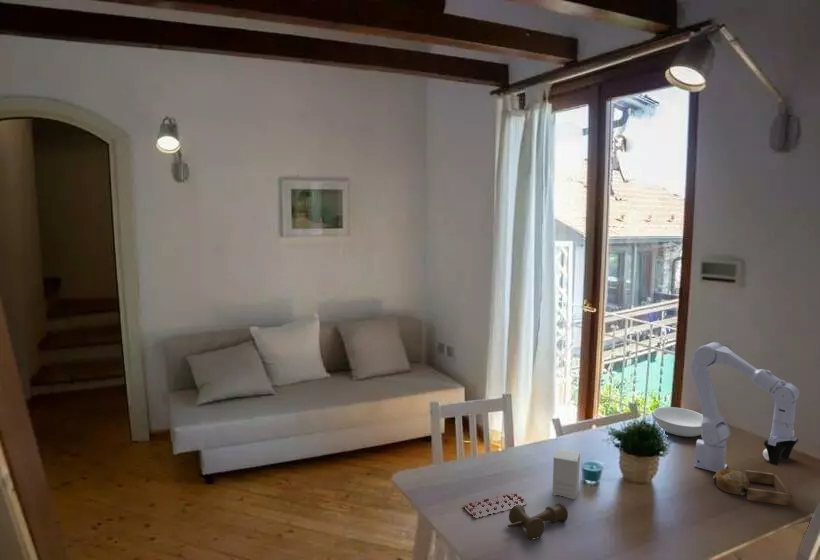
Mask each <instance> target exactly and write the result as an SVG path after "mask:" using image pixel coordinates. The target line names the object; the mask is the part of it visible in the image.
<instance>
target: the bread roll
mask: <svg viewBox="0 0 820 560" xmlns="http://www.w3.org/2000/svg"><path fill="white" fill-rule="evenodd" d="M712 479H713V480H714V484H715V486H716V487H717V488H718V489H719V490H721V491H722V490H723V492H726V493H728V494H731V493H732V495H739V496H744V495H746V494H747V490H748V488H751V483H750V482H749V480H748V478H747V477H746V476H745V474H744V472H742V471H740V470H738V469H734V468H726V469H722V470H720V471H718V472H715V474H714V475H713V476H712Z"/></svg>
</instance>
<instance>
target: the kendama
mask: <svg viewBox="0 0 820 560" xmlns="http://www.w3.org/2000/svg"><path fill="white" fill-rule="evenodd" d="M568 517H569V512H568V509H567V507H566V506H565V505H564V504H563V503H561V502H557V503H555V505H554V506H553V507H552V506H546V507H545V510H544V511H542V512H540V513H538V514H536V515H534V516H531V517H530V516H529V515H528V514H527V513H526V510H525V507H524V506H521V505H516V506H514V507H513V508H512V509H510V510H509V513H508V520H509V522H510V524H508V525H507V527H508V528H513V527H517V526H522V527H523V528H524V530H525V531H526V536H527V537H528V539H529V540H532V539H533V538H537V537H539V538H540V537H542V535H543V534H544V532H545V522H549V523H552V524H555V523H556V522H557V521H561V522H566V521H567V520H568ZM537 539H538V538H537Z"/></svg>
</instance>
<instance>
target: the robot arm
mask: <svg viewBox="0 0 820 560" xmlns="http://www.w3.org/2000/svg"><path fill="white" fill-rule="evenodd" d="M714 364H721V365H722V364H723V365H724V364H727V365H729V366H731V367H732V368H734V369H736V370H738V371H739V372H740V373H742V374H744V375H745V376H748V378H750V379H751V382H752V384H754V385H755V386H757V387H759V388H760V389H761V390H763V391H764V392H766V393H767V394H770V395H771V396H772V398H773V400H774V407H773V416H772V424H771V430H770V435H769V437H768V439H766V440H764V442H763V445H764V447H765V449H767V451H768V456H769V461H768V462H769V464H771V465H773V466H778V465H779V463H780V460H781V459H784V460H787V461H788V460H789V458H790V455H791V453H792V451H793V449H794V447H795V446H796V444H797V443H798V442H799V438H797V437H796V436H795V433H796V432H795V431H796V430H794V427H795V421H796V420H795V419H796V412H797V411H796V407H797V401H796V400H798V399H799V397H800V394H801V393H800V390H799V388H798V387H797V386H796V385H795V384H794V383H792V382H787V381H786V380H784V379H780V378H779V377H778V376H775V374H772V371H771V370H770V369H767V370H766V369H765V368H760V369H759V368H756V367H755V366H754V365H752V364H750V363H749V362H748V361H746V360H744V358H742V357H740V356H739V355H737V354H736V353H734V352H733V351H732V350H731V349H730V348H729V347H727V346H725V345H723V344H721V343H720V342H717V341H712V342H709V343H707V344H704V345H700V346H699V347H698V348H697V349H696V350H695V351H693V358H692V362H691V364H690V370H691V374H692V379H693V382H694V383H693V384H694V386H695V387H694V388H695V389H696V394H697V398H698V399H697V400H698V402H699V405H700V410H701V414H702V415H703V420H702V423H701V426H702V432H701V435H700V436H701V438H700V439H699V438H698V439H697V440H696V443H695V450H694V451H695V453H694V463H693V466H694V467H695V468H700V469H703V470H706V471H710V472H715V473H716V472H718V471H720V470H722V469H728V468H727V467H728V464H727V463H726V457H727V445H728V444H727V439H728V438H730V436H731V429H730V427H729V425H728V424H727V422H726V420H725V418H724V417H723V416H722V415H721V414H720V410H719V406H718V402H717V398H716V395H715V391H714V387H713V383H712V379H711V375H710V372H709V371H710V369H711V368H712V367H713V365H714Z"/></svg>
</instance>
